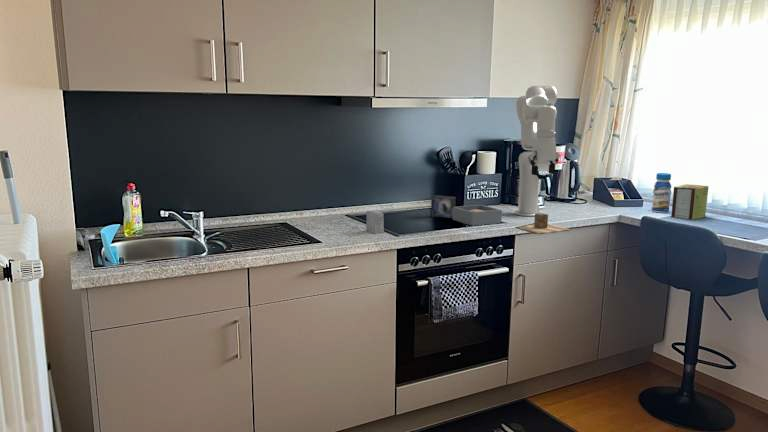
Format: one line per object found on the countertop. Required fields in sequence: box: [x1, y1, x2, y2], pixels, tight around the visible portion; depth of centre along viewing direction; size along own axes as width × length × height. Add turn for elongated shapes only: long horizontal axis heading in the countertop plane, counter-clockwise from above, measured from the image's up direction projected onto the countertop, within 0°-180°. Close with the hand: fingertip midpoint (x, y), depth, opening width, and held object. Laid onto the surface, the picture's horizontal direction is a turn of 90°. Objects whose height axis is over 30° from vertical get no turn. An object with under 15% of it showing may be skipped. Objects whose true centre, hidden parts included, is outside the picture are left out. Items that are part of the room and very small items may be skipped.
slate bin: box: [452, 204, 503, 227], centre depth 268 cm, size 16×16×7 cm
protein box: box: [670, 183, 710, 221], centre depth 287 cm, size 10×15×16 cm
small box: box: [430, 194, 457, 219], centre depth 281 cm, size 11×6×10 cm, turn 62°
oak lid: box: [514, 212, 571, 235], centre depth 257 cm, size 18×18×7 cm
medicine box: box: [365, 210, 385, 235], centre depth 248 cm, size 8×4×9 cm, turn 30°
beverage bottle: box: [651, 172, 672, 214], centre depth 301 cm, size 8×8×20 cm
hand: (543, 174), depth 254 cm, fingers open, 9 cm apart
